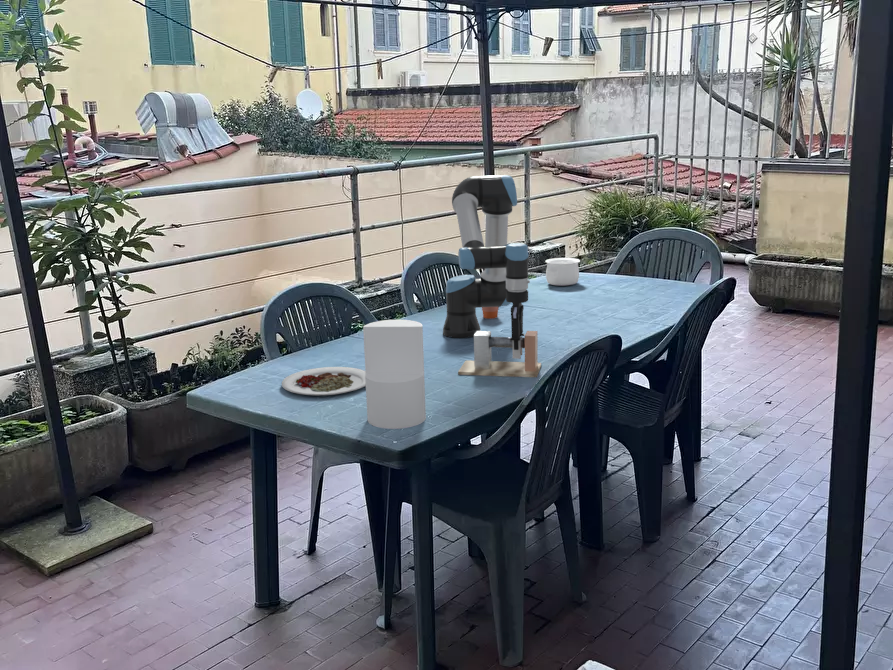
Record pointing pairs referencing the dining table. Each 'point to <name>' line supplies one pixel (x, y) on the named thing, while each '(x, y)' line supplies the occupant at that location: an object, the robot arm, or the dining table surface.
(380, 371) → the cylinder
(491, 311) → the cup with straw
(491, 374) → the base board
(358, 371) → the plated food
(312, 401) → the dining table surface
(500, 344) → the rod
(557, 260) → the pot
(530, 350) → the tan upright block
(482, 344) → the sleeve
